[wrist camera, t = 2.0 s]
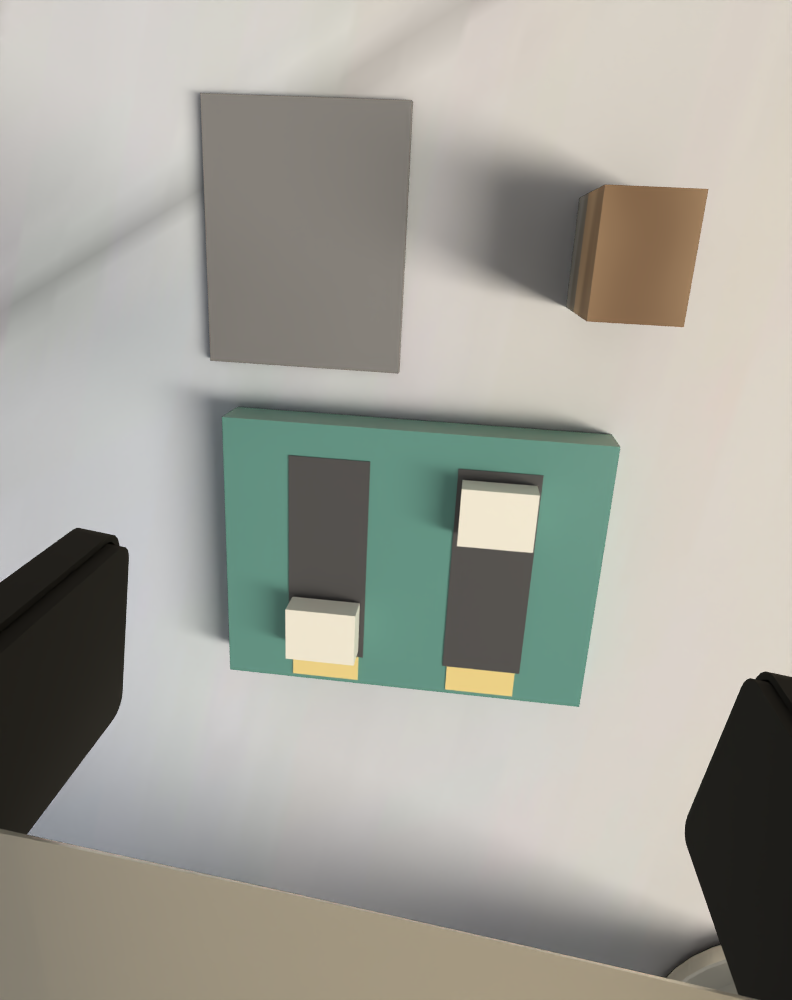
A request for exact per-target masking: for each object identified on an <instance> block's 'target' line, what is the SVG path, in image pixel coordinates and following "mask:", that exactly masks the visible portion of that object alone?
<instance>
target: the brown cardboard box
mask: <svg viewBox="0 0 792 1000" xmlns="http://www.w3.org/2000/svg"><path fill="white" fill-rule="evenodd" d="M707 194H708V189H695V188H672V187H649V186H626V185H603V186H601V187H600V188H598V189H596V190H594V191H592V192H590V193H588V194H586V195H584V196H582V197H580V198H579V206H578V214H577V222H576V230H575V239H574V247H573V255H572V263H571V271H570V279H569V287H568V295H567V303H566V307H567V308H568V309H570V310H571V311H573V312H574V313H576V314H577V315H578V316H580V317H581V318H583V319H584V320H586V321H591V322H607V323H624V324H640V325H657V326H674V327H684V322H685V317H686V311H687V306H688V300H689V294H690V289H691V283H692V278H693V272H694V266H695V261H696V255H697V250H698V244H699V239H700V233H701V227H702V222H703V216H704V211H705V205H706V199H707Z"/></svg>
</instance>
